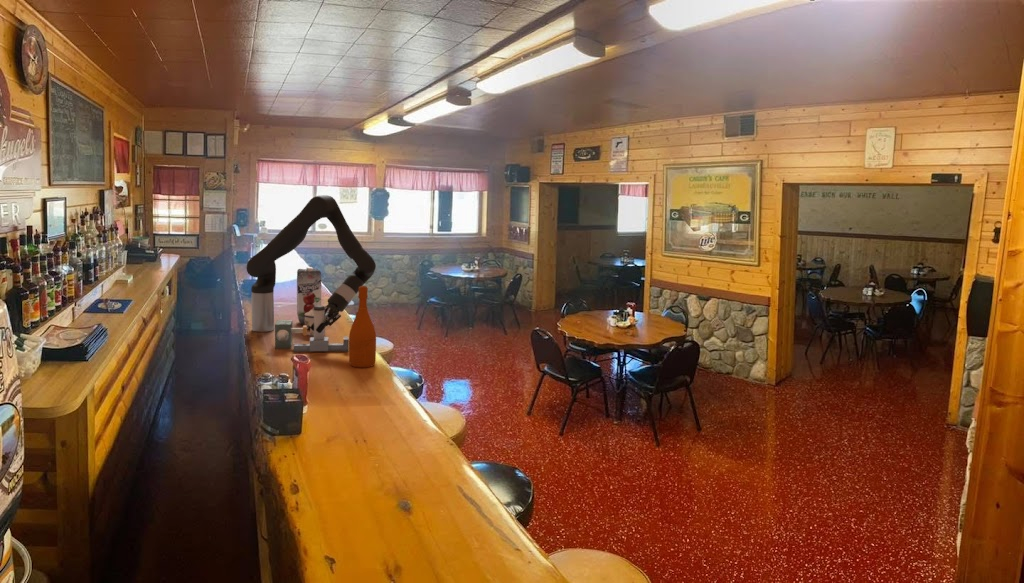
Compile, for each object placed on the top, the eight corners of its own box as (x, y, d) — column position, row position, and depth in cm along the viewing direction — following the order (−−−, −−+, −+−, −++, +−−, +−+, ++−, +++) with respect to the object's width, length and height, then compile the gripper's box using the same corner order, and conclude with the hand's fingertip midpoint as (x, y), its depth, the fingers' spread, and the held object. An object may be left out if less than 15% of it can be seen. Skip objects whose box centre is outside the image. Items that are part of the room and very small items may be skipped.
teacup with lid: (302, 332, 288) (302, 306, 286) (323, 330, 292) (322, 305, 290) (308, 338, 278) (308, 311, 276) (329, 336, 282) (329, 310, 280)
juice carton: (296, 321, 308) (296, 265, 303) (319, 320, 312) (319, 265, 308) (298, 325, 300) (298, 268, 295) (322, 324, 304) (322, 267, 300)
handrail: (294, 349, 259) (294, 337, 258) (348, 348, 264) (348, 336, 263) (293, 352, 254) (293, 340, 253) (348, 351, 259) (348, 339, 258)
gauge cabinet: (277, 343, 266) (276, 320, 264) (292, 343, 267) (292, 320, 266) (275, 349, 258) (274, 324, 256) (290, 348, 259) (290, 324, 258)
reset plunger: (284, 333, 264) (284, 325, 263) (307, 333, 266) (307, 325, 265) (283, 335, 261) (283, 327, 260) (306, 335, 263) (306, 327, 262)
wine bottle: (379, 362, 246) (380, 284, 241) (371, 369, 237) (371, 288, 232) (354, 360, 247) (354, 283, 242) (345, 367, 237) (345, 287, 233)
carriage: (310, 347, 261) (310, 305, 258) (328, 347, 262) (328, 305, 260) (309, 351, 255) (309, 308, 252) (328, 351, 257) (328, 308, 254)
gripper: (326, 289, 265) (299, 321, 258) (345, 294, 255) (317, 328, 249) (338, 300, 270) (311, 332, 263) (357, 306, 260) (330, 339, 253)
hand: (314, 330), depth 256 cm, fingers closed on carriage, 4 cm apart
